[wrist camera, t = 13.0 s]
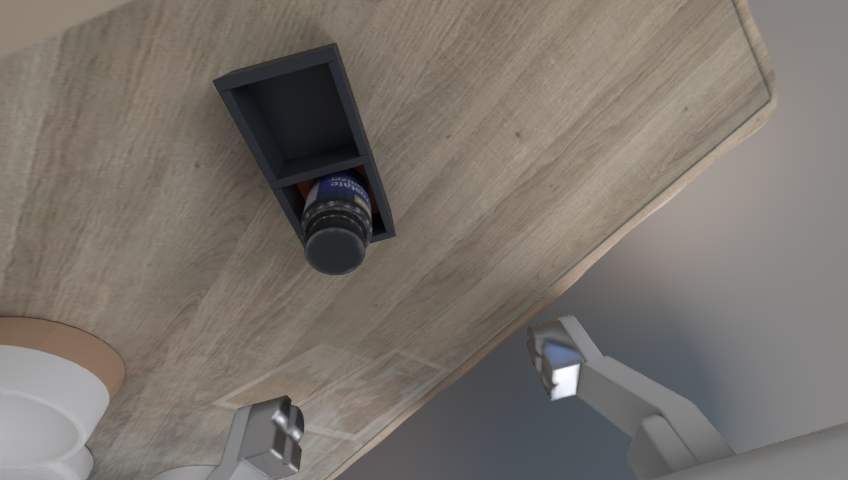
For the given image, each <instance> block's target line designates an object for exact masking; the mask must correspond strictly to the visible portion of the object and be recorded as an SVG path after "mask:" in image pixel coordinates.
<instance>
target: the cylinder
mask: <svg viewBox="0 0 848 480" xmlns="http://www.w3.org/2000/svg"><path fill="white" fill-rule="evenodd" d="M215 467H218V466H204V465H199V466H186V467H180V468H175V469H171V470H168V471H165V472H162V473H160V474H158V475H156V476H154V477H152V478H151V479H150V480H206V478H207V477H208V476H209V474H210V473H211V472H212V470H213V469H214V468H215Z"/></svg>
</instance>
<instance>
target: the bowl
mask: <svg viewBox="0 0 848 480" xmlns="http://www.w3.org/2000/svg"><path fill="white" fill-rule="evenodd" d="M124 378H125V366H124V364H123V361H122V359H121V358H120V357H119V355H118V354H117V353H116V351H114V350H113V349H112V348H111V347H110V346H108V345H107V344H106V343H104V342H103V341H101V340H100V339H98V338H96V337H95V336H93V335H90V334H88V333H86V332H84V331H81V330H79V329H76V328H73V327H70V326H67V325H64V324H61V323H56V322H51V321H47V320H42V319H33V318H24V317H0V470H15V469H27V468H33V467H39V466H45V465H48V464H52V463H56V462H59V461H61V460H64V459H66V458H68V457H70V456H72V455H73V454H75V453H76V452H78V451H79V450H80V449H81V448H82V447H83V446H84V445H85V443H86V442H87V440H88V439H89V437H90V435H91V434H92V432H93V431H94V429H95V427H96V426H97V424H98V423H99V421H100V419H101V418H102V416H103V414H104V413H105V411H106V410H107V407H108V406H109V404H110V402H111V401H112V399H113V398H114V396H115V394H116V393H117V391H118V389H119V388H120V386H121V385H122V383H123V380H124Z"/></svg>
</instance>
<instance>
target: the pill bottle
mask: <svg viewBox="0 0 848 480" xmlns="http://www.w3.org/2000/svg"><path fill="white" fill-rule="evenodd" d="M372 233H373V228H372V217H371V204H370V193H369V187H368V184H367V182H366V180H365V179H364V178H363V177H362V175H360V174H359V173H358V172H357V171H355V170H353V169H351V168H349V169H346V170H342V171H339V172H335V173H332V174H328V175H325V176H321V177H317V178H314V179H313V180H312V182H311V185H310V189H309V193H308V197H307V200H306V204H305V208H304V212H303V216H302V219H301V224H300V234H301V238H302V240H303V242H304V244H305V249H304V250H305V257H306V259H307V261H308V262H309V264H310V265H311V266H312V267H313V268H315V269H316V270H317V271H319V272H322V273H325V274H329V275H343V274H346V273H349V272H351V271H353V270H355V269H356V268H357V267H358V266H359V265H360V264H361V263H362V262H363V260H364V257H365V248H366V247H367V246H368V245H369V243H370V241H371V237H372Z"/></svg>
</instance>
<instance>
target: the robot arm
mask: <svg viewBox="0 0 848 480" xmlns="http://www.w3.org/2000/svg"><path fill="white" fill-rule="evenodd" d="M527 335H528V337H529V340H528V341H527V348H528V352H529V355H530V358H531V361H532V363H533V365H534V367H535V369H536V370H538V371H539V372H541V373H542V383H543V385H544V387H545V389H546V391H547V393H548V395H549V397H550V399H551V401H552V400H556V399H559V398H564V397H568V396H572V395H575V394H577V396H578V397H580V398H581V399H582V400H584V401H585V402H586V403H588V404H589V405H590V406H591V407H593V408H594V409H595V410H597V411H598V412H599V413H600V414H602V415H603V416H605V417H606V418H607V419H608V420H609V421H611V422H612V423H614V424H615V425H616V426H617V427H619V428H620V429H621V430H623V431H624V432H625V433H626V434H628V435H629V436H631V437H632V438H633V441H632V444H631V446H630V448H629V451H628V453H627V457H626V460H627V461H628V463H629V465H630V466H631V468H632V470H633V471H634V473H635V475H636V477H637V478H638V480H848V422H846V423H843V424H839V425H835V426H832V427H829V428H825V429H822V430H818V431H815V432H811V433H808V434H805V435H801V436H798V437H794V438H791V439H787V440H784V441H780V442H777V443H773V444H770V445H767V446H763V447H760V448H756V449H753V450H750V451H746V452H743V453H739V454H736V453H735V452H734V451H733V449H732V448H731V447H730V446H729V445H728V443H727V442H726V441H725V440H724V439H723V438H722V436H721V435H720V434H719V433H718V432H717V431H716V429H715V428H714V427H713V426H712V425H711V423H710V422H709V421H708V420H707V419H706V417H705V416H704V415H703V414H702V413H701V412H700V410H699V409H698V408H697V407H696V406H695V405H694V403H692V402H691V401H689V400H687V399H685V398H683V397H682V396H680V395H678V394H676V393H674V392H673V391H671V390H669V389H667V388H665V387H663V386H662V385H660V384H658V383H656V382H655V381H653V380H651V379H649V378H647V377H645V376H643V375H642V374H640V373H638V372H636V371H635V370H633V369H631V368H629V367H628V366H626V365H624V364H622V363H620V362H618V361H617V360H615V359H613V358H611V357H609V356H605V357H603V355H602V354H601V353H600V351H599V350H598V349H597V347H596V346H595V344H594V343H593V341H592V340H591V339H590V337H589V336H588V334H587V333H586V332H585V330H584V329H583V328H582V326H581V325H580V323H579V322H578V320H577V319H576V318H575V317H574V316H573V315H567V316H564V317H560V318H557V319H552V320H549V321H546V322H543V323H539V324H536V325H532V326H529V327H527ZM303 434H304V419H303V414H302V412H301V410H300V409H299V408H298V406H294V405H291V399H290V398H289V397H288V396H287V395H285V396H282V397H278V398H274V399H271V400H267V401H264V402H260V403H256V404H252V405H248V406H245V407H241V408H238V410H237V411H236V413H235V414H234V417H233V421H232V424H231V428H230V431H229V435H228V438H227V442H226V445H225V448H224V452H223V455H222V459H221V462H220V466H218V467H215V468H214V469H213V470H212V472H211V473H210V474H209V476H208V477H207V478H206V480H278V479H281V478H284V477H287V476H290V475H293V474H297V473H299V468H300V460H301V451H302V449H301V448H300V446H299V445H298V443H299V441H300V439H301V438H302V436H303Z"/></svg>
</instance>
